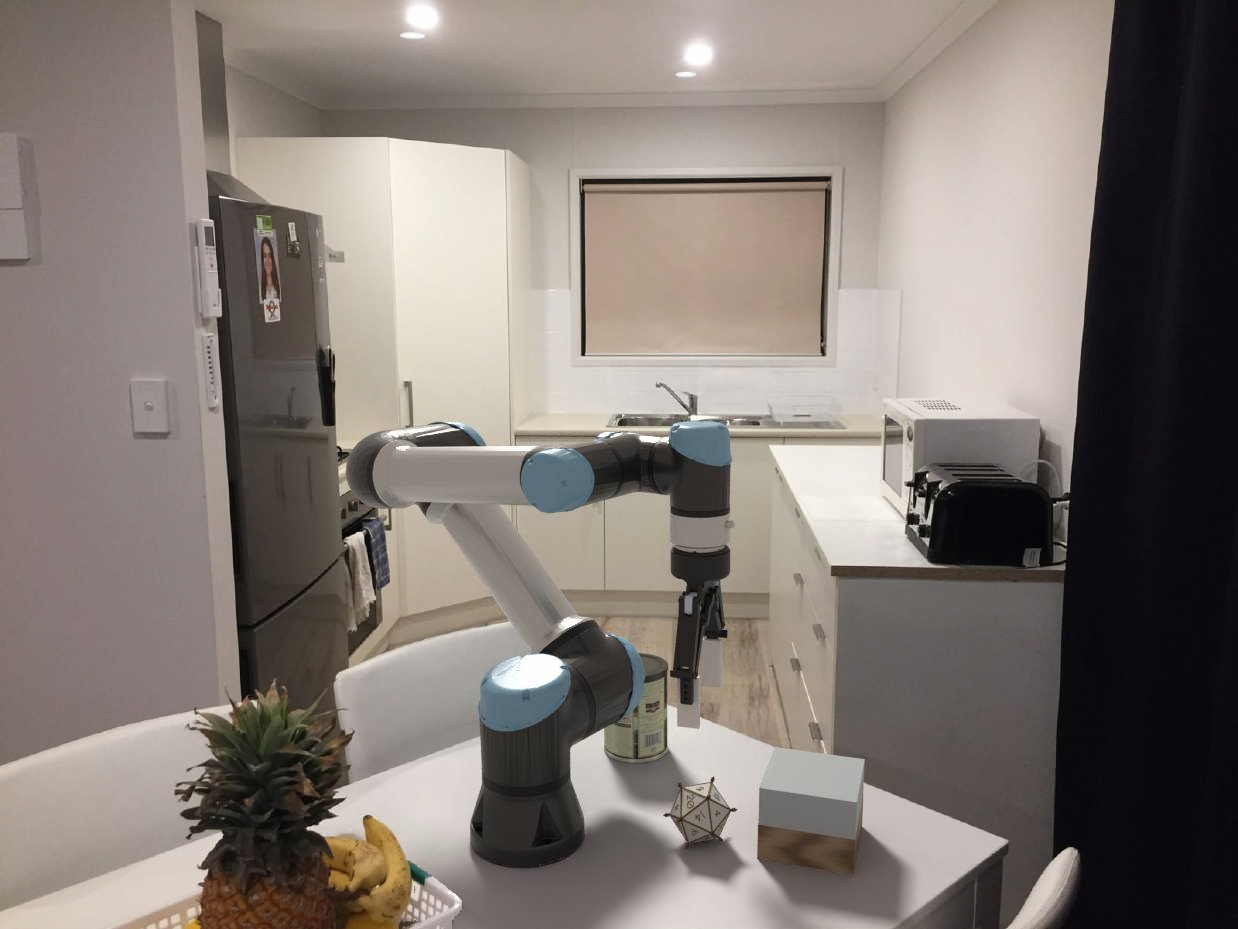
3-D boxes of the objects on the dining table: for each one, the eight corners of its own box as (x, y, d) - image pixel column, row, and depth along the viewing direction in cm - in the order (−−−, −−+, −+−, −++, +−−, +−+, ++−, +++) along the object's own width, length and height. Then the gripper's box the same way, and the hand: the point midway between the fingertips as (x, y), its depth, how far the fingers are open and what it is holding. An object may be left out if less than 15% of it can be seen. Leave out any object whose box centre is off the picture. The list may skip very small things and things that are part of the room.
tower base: (757, 860, 127) (757, 824, 127) (773, 814, 139) (774, 781, 138) (853, 877, 124) (854, 840, 123) (862, 828, 135) (863, 794, 134)
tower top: (758, 824, 126) (759, 787, 126) (774, 781, 138) (774, 747, 137) (855, 840, 123) (856, 802, 122) (863, 794, 134) (864, 759, 133)
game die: (710, 872, 131) (731, 840, 124) (650, 845, 132) (667, 811, 125) (729, 813, 137) (749, 779, 130) (672, 787, 138) (689, 752, 131)
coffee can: (624, 729, 165) (624, 648, 163) (679, 744, 160) (680, 660, 157) (590, 753, 156) (589, 668, 154) (646, 770, 151) (646, 681, 149)
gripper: (709, 573, 113) (709, 749, 116) (746, 525, 136) (745, 673, 140) (645, 568, 115) (646, 742, 118) (693, 522, 138) (693, 668, 142)
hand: (700, 705), depth 129 cm, fingers open, 13 cm apart
